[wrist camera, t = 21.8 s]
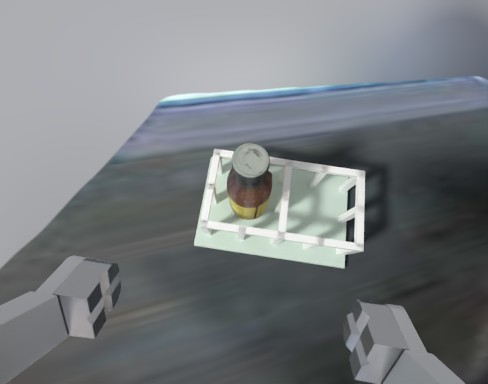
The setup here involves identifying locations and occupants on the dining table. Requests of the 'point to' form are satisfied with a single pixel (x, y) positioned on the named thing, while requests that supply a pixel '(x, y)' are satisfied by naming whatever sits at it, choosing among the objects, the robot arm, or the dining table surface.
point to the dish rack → (286, 213)
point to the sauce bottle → (249, 181)
